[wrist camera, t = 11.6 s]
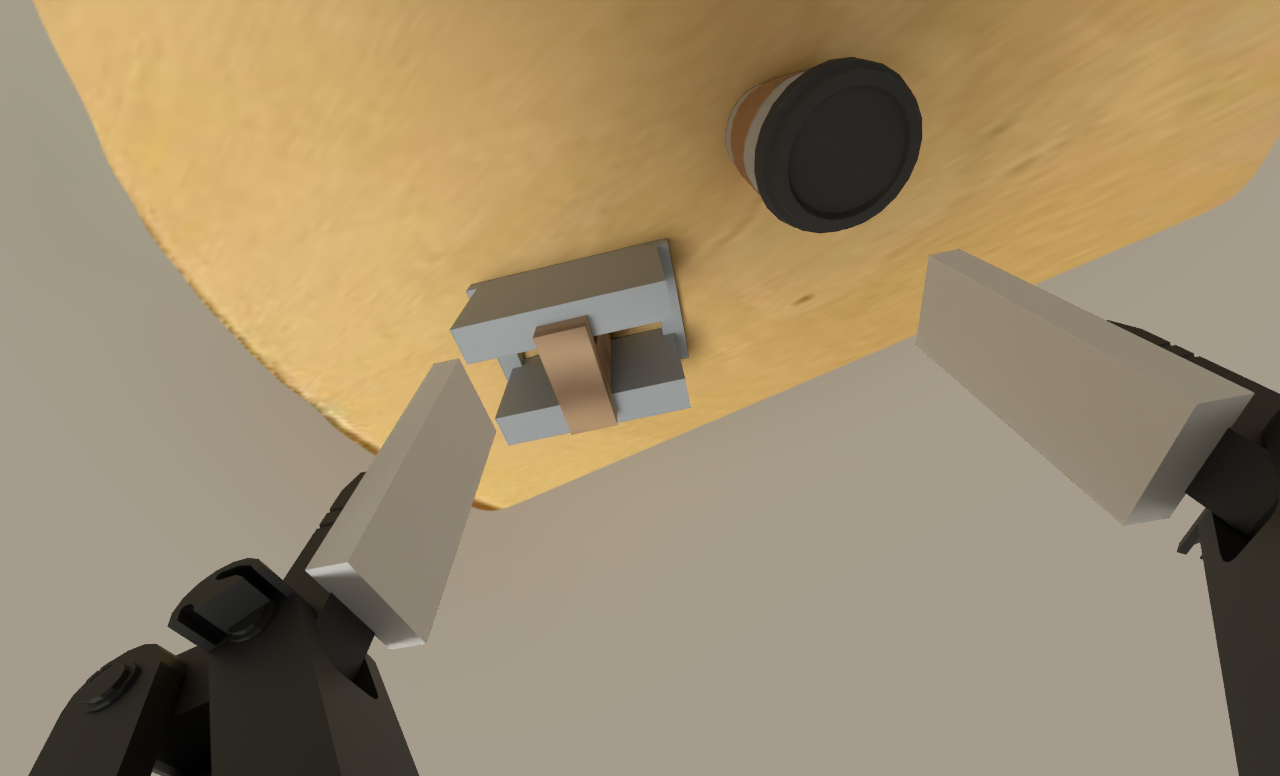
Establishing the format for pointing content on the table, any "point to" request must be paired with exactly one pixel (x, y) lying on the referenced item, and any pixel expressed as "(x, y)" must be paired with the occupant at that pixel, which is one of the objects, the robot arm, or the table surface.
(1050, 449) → the robot arm
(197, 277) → the table surface
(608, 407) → the wooden t-shaped block
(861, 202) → the coffee cup
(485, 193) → the table surface
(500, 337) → the slot stand
